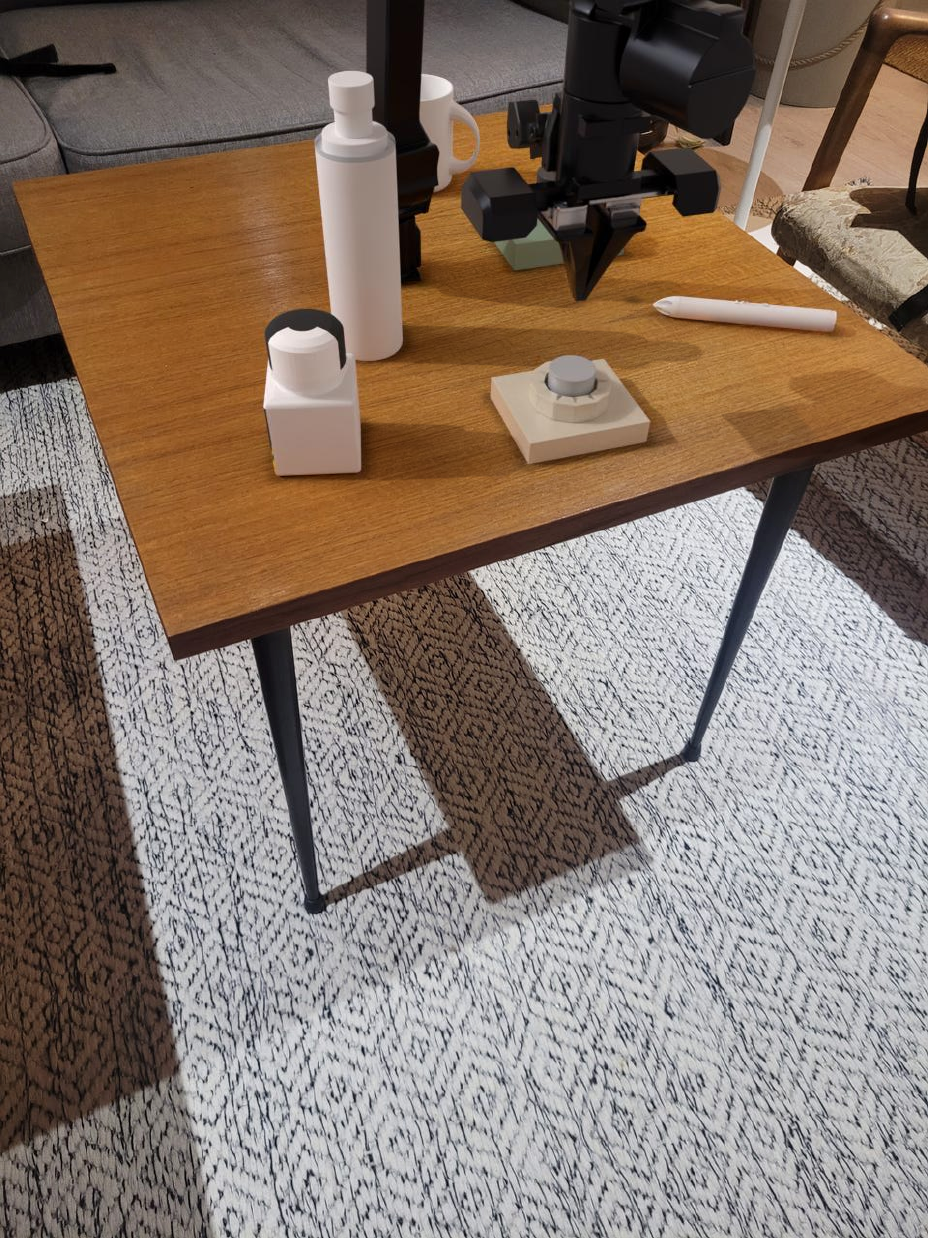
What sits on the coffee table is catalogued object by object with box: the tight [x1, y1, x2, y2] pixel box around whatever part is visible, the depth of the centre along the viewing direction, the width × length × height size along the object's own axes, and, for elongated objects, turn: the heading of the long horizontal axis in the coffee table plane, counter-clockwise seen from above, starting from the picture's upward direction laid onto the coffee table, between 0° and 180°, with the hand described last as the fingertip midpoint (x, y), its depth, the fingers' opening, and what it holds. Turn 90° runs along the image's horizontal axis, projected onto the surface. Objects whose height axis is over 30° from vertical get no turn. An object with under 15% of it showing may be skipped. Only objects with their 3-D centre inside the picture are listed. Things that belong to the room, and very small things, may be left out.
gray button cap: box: [548, 354, 596, 397], centre depth 79 cm, size 4×4×2 cm
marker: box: [652, 295, 838, 333], centre depth 92 cm, size 18×2×2 cm, turn 81°
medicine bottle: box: [262, 308, 362, 477], centre depth 74 cm, size 7×7×12 cm
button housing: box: [490, 358, 651, 465], centre depth 80 cm, size 11×10×4 cm
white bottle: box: [314, 70, 404, 362], centre depth 80 cm, size 7×7×25 cm
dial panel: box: [493, 218, 625, 271], centre depth 103 cm, size 13×11×3 cm
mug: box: [420, 73, 481, 194], centre depth 110 cm, size 9×12×11 cm
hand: (578, 298), depth 74 cm, fingers closed
